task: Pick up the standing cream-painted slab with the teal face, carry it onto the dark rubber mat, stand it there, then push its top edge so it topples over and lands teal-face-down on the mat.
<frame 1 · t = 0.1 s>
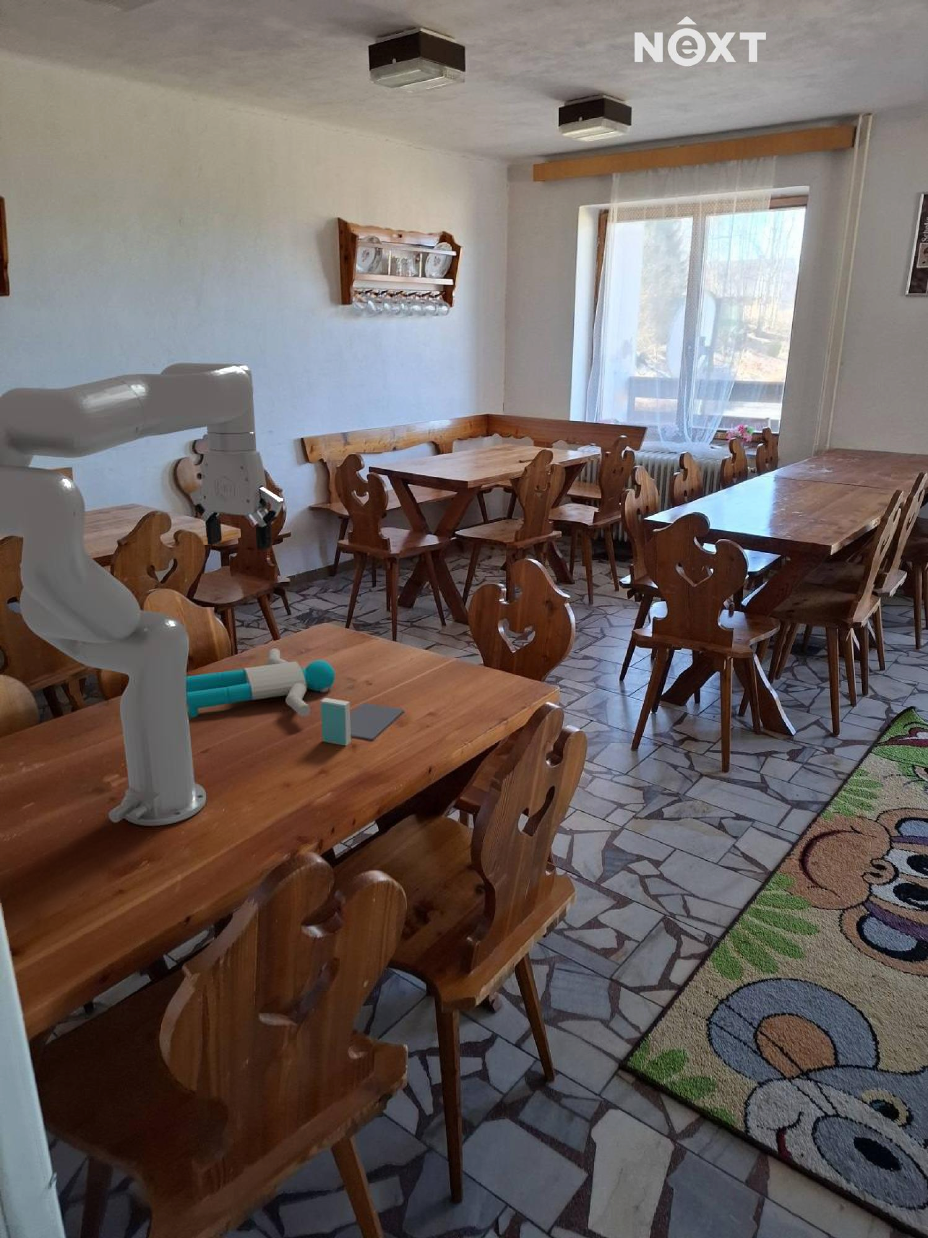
hand: (239, 545, 143), 37 cm above the table, tool pointing down, fingers open, 9 cm apart
slab: (336, 742, 155), on the table
toy: (263, 698, 175), on the table
mat: (368, 721, 163), on the table
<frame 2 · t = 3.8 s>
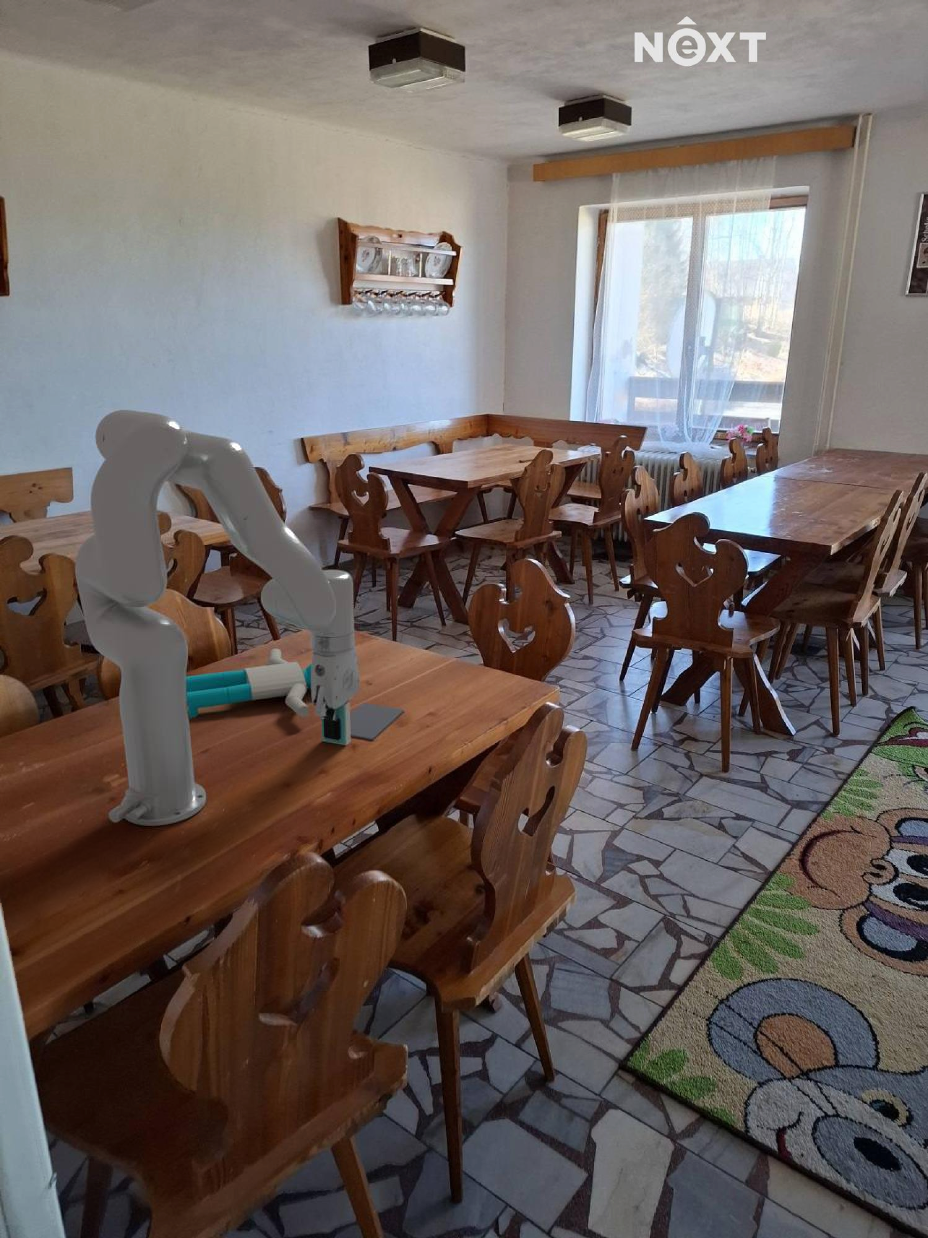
hand: (335, 735, 155), 1 cm above the table, tool pointing down, fingers closed on slab, 1 cm apart
slab: (336, 741, 155), on the table, touching gripper
everything else where it was.
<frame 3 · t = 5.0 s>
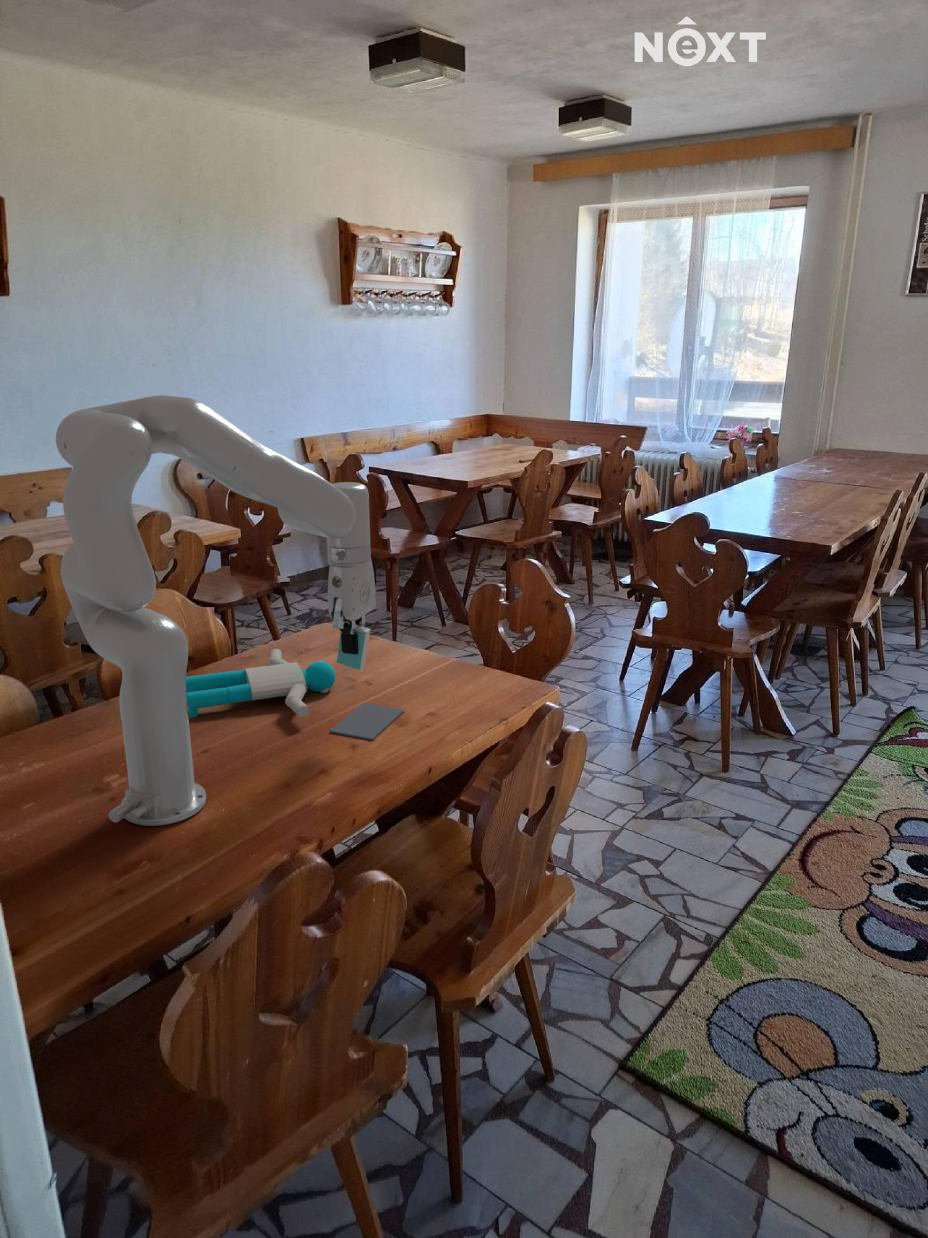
hand: (353, 650, 155), 16 cm above the table, tool pointing down, fingers closed on slab, 1 cm apart
slab: (349, 666, 156), point 13 cm above the table, tilted 11°, touching gripper
everything else where it was.
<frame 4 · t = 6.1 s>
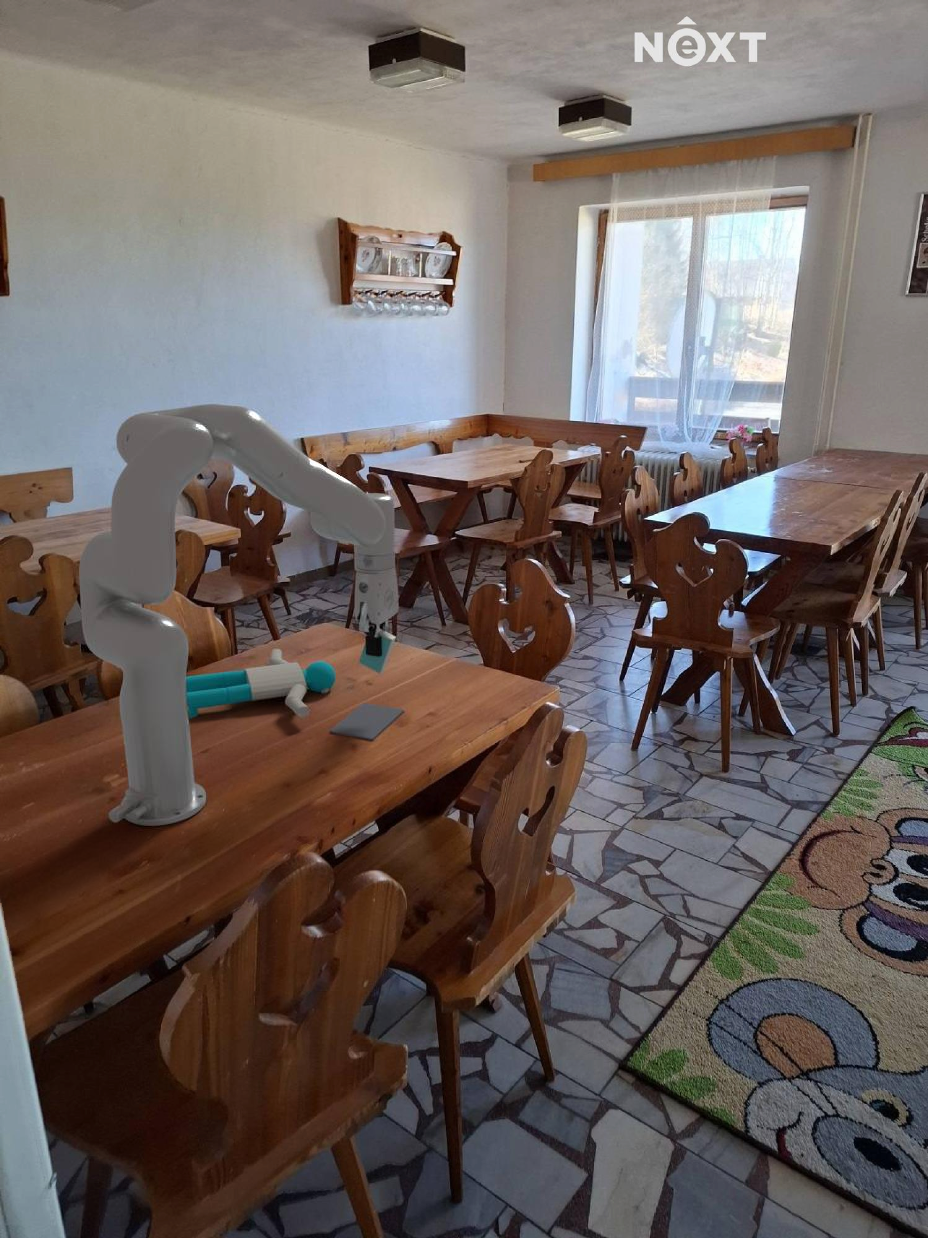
hand: (376, 652, 163), 13 cm above the table, tool pointing down, fingers closed on slab
slab: (370, 667, 165), point 10 cm above the table, tilted 20°, touching gripper
everything else where it was.
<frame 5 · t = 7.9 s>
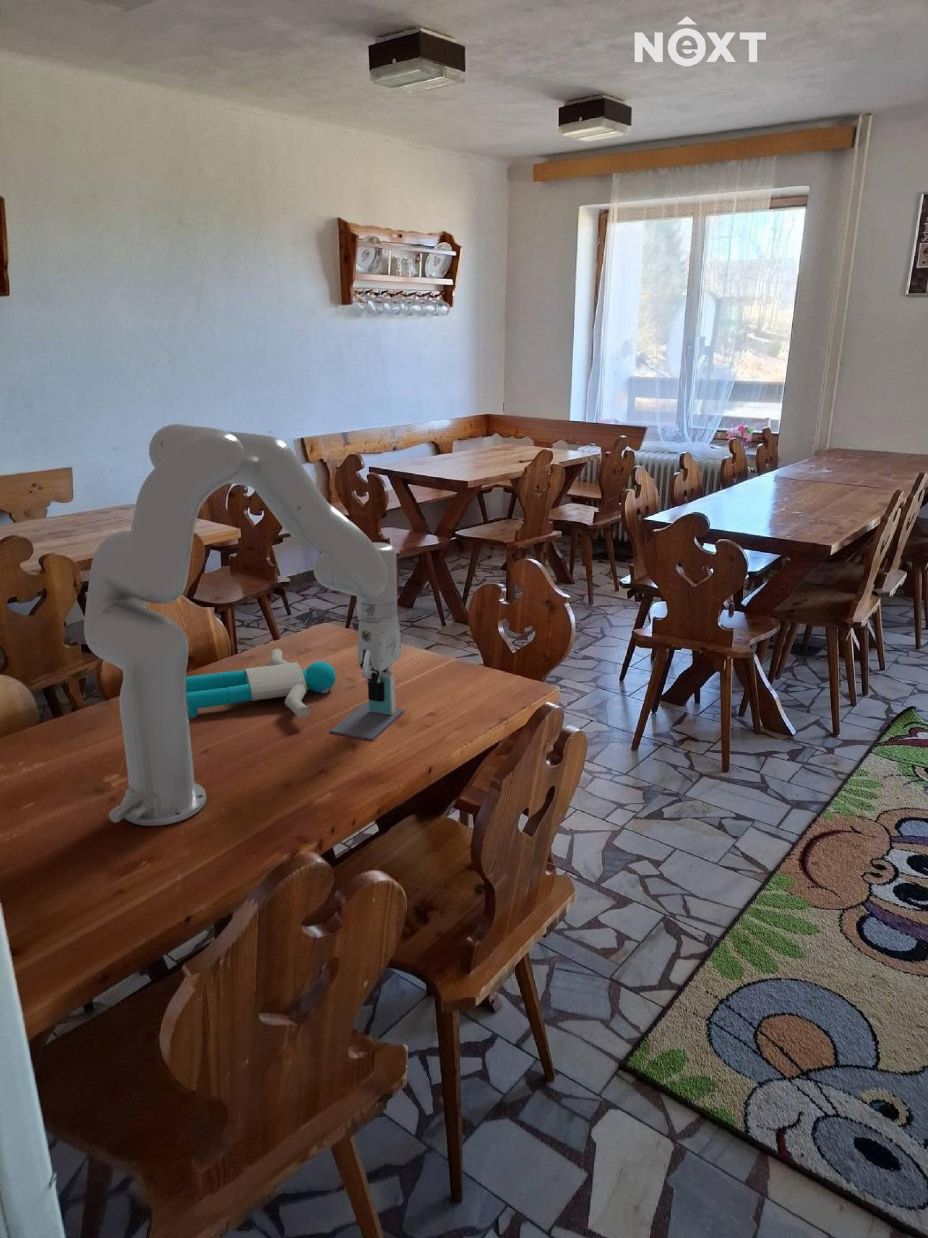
hand: (379, 697, 166), 4 cm above the table, tool pointing down, fingers closed on slab, 2 cm apart
slab: (381, 712, 167), resting on mat, touching gripper
everything else where it was.
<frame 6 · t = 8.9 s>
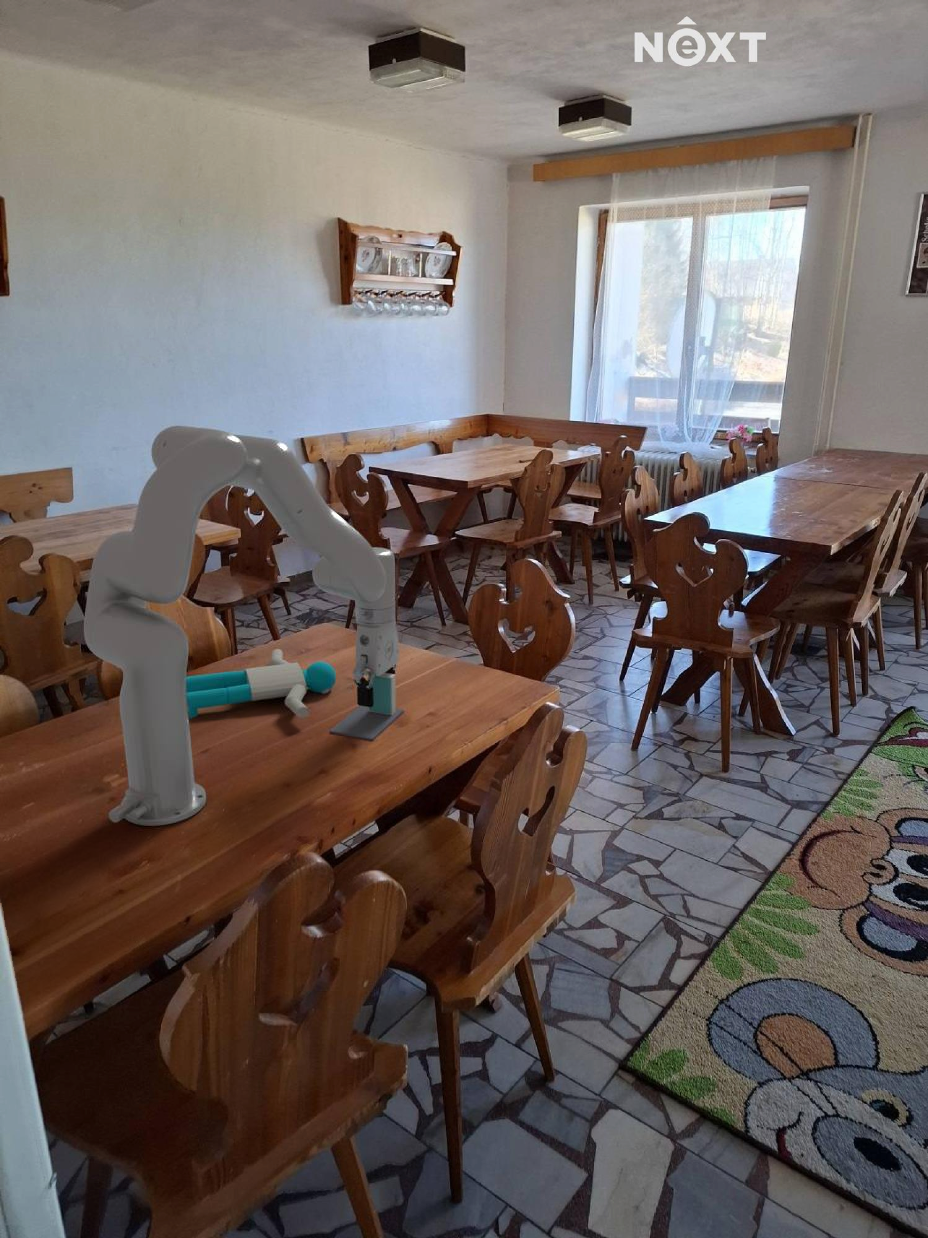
hand: (376, 696, 166), 4 cm above the table, tool pointing down, fingers open, 9 cm apart
slab: (381, 712, 167), resting on mat
everything else where it was.
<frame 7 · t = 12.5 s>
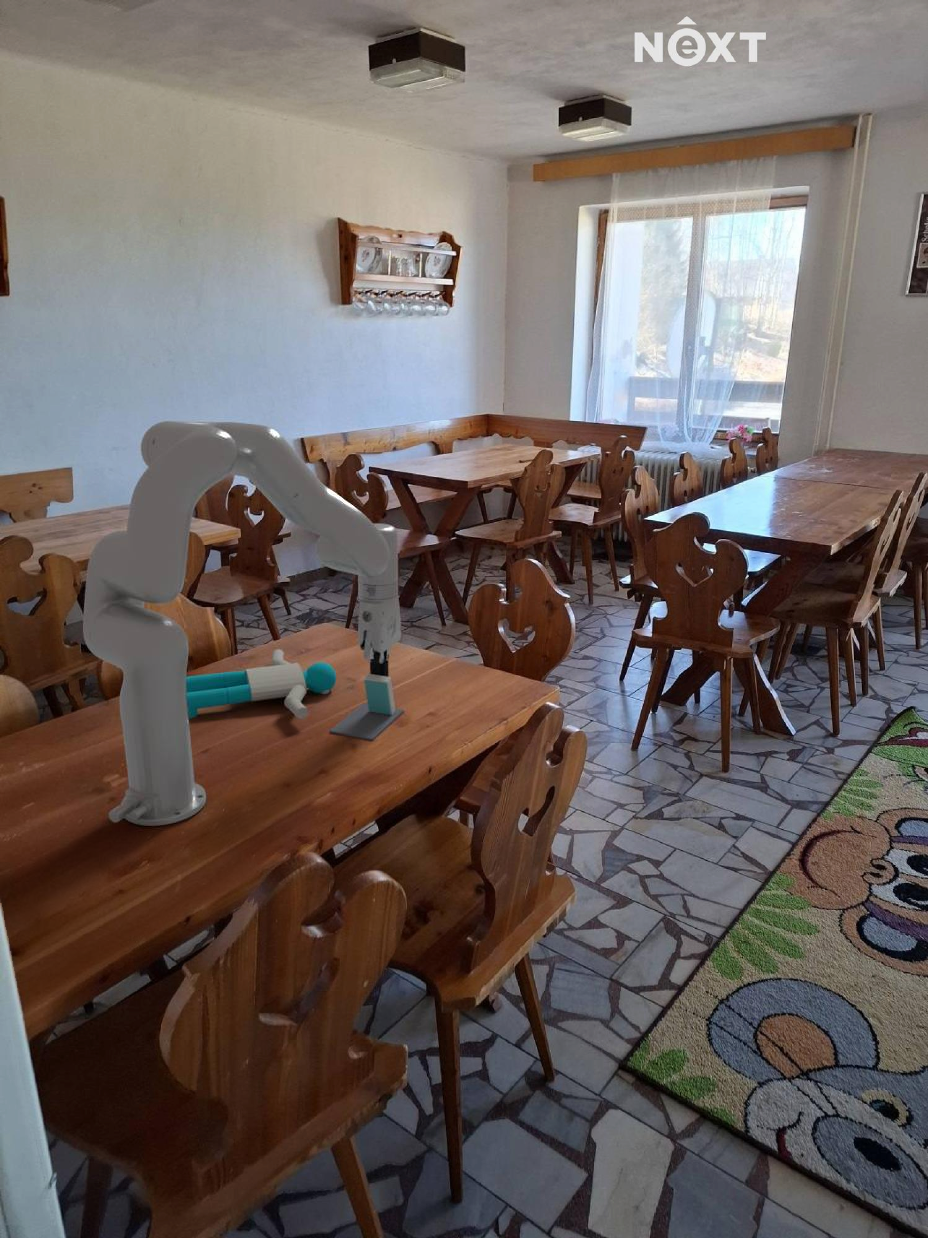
hand: (379, 679, 166), 7 cm above the table, tool pointing down, fingers closed
slab: (381, 711, 167), point 1 cm above the table, tilted 14°, touching mat
everything else where it was.
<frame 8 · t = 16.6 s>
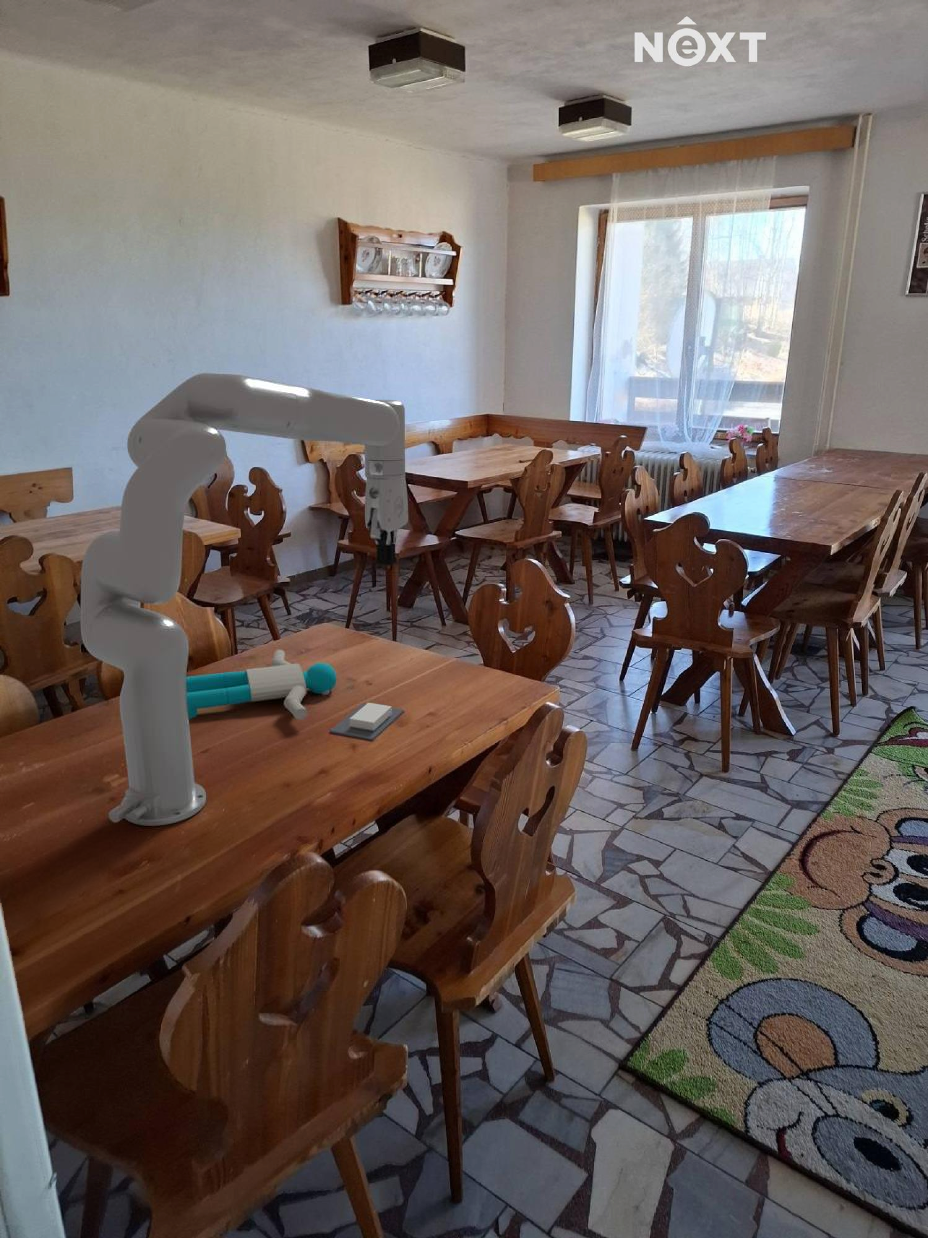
hand: (386, 563, 164), 29 cm above the table, tool pointing down, fingers closed
slab: (380, 709, 166), point 1 cm above the table, tilted 90°, touching mat
everything else where it was.
at the end: slab tilted 90°; slab inside the target area (3.5 cm from its centre), point 1.4 cm above the table; the gripper is holding nothing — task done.
